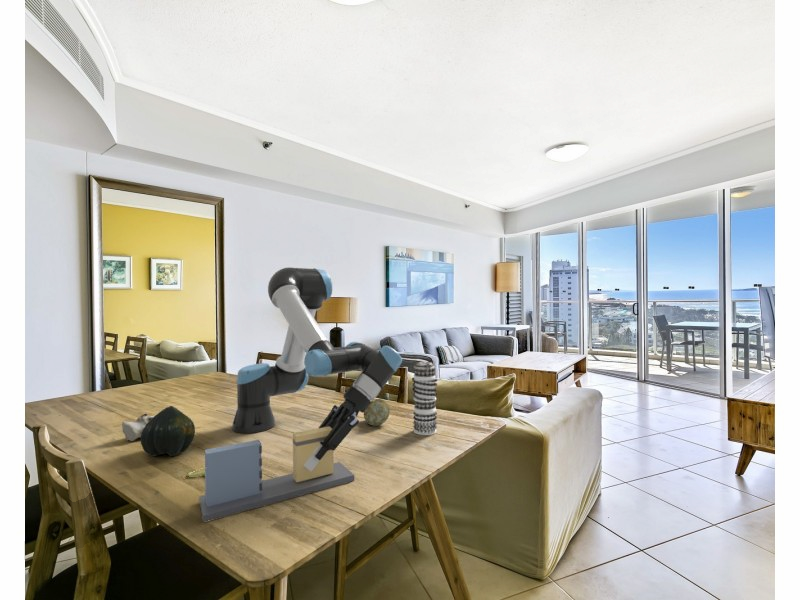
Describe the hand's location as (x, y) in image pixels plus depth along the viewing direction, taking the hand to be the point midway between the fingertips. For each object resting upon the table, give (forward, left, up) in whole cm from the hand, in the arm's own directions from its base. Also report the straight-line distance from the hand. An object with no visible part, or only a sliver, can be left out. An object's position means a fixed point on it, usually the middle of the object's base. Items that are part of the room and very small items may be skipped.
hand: (304, 465), depth 101 cm
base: (-4, -4, -5) cm, 8 cm away
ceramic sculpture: (-73, +22, -5) cm, 76 cm away
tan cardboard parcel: (+2, +2, -3) cm, 4 cm away
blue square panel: (-12, -12, -3) cm, 18 cm away
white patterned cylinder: (+24, +47, -5) cm, 53 cm away
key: (-29, -1, -6) cm, 29 cm away
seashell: (+4, +52, -5) cm, 52 cm away
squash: (-53, +11, -5) cm, 54 cm away
